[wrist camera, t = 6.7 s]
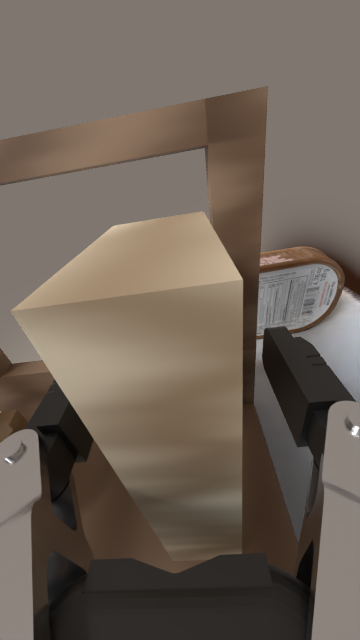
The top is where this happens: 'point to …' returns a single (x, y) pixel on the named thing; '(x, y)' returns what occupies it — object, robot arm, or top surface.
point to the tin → (296, 289)
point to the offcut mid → (14, 420)
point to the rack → (244, 250)
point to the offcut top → (4, 430)
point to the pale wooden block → (155, 371)
